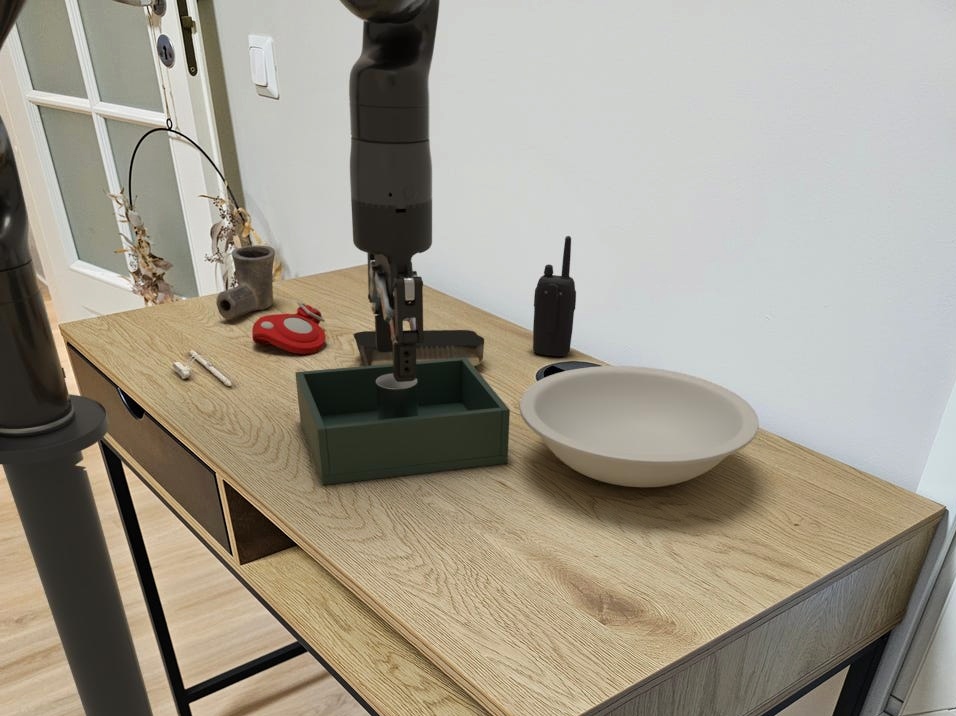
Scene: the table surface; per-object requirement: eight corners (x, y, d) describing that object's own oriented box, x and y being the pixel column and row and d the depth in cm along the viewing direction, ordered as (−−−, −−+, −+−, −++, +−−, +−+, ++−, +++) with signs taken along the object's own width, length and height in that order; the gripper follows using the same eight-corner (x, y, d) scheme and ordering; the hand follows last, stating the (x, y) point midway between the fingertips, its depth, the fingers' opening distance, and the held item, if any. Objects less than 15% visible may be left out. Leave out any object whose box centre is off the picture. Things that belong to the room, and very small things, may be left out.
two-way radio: (573, 351, 121) (583, 234, 112) (567, 362, 118) (577, 242, 109) (533, 347, 122) (540, 230, 113) (527, 358, 119) (533, 239, 110)
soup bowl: (548, 533, 82) (554, 469, 78) (495, 427, 101) (497, 370, 97) (786, 514, 86) (803, 451, 82) (692, 415, 105) (702, 360, 101)
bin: (322, 485, 89) (317, 429, 85) (300, 423, 100) (295, 371, 97) (507, 463, 94) (510, 409, 90) (465, 406, 105) (466, 356, 102)
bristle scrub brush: (359, 377, 112) (357, 348, 110) (357, 353, 119) (355, 326, 116) (486, 373, 114) (487, 345, 112) (477, 350, 121) (477, 323, 119)
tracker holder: (332, 346, 117) (255, 332, 114) (326, 374, 120) (251, 362, 117) (326, 298, 125) (254, 283, 121) (321, 326, 128) (250, 313, 125)
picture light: (233, 387, 108) (231, 370, 107) (199, 394, 106) (196, 377, 105) (193, 353, 117) (190, 337, 116) (161, 359, 115) (157, 343, 114)
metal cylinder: (383, 444, 94) (380, 390, 91) (374, 428, 98) (371, 374, 94) (423, 440, 95) (422, 386, 92) (413, 424, 99) (411, 371, 95)
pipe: (210, 321, 128) (201, 263, 123) (255, 297, 138) (248, 242, 133) (248, 327, 126) (240, 268, 122) (290, 301, 136) (284, 246, 131)
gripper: (338, 178, 86) (347, 344, 96) (366, 211, 75) (373, 394, 85) (413, 177, 88) (414, 340, 98) (451, 208, 77) (448, 388, 87)
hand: (395, 365), depth 92 cm, fingers open, 8 cm apart
